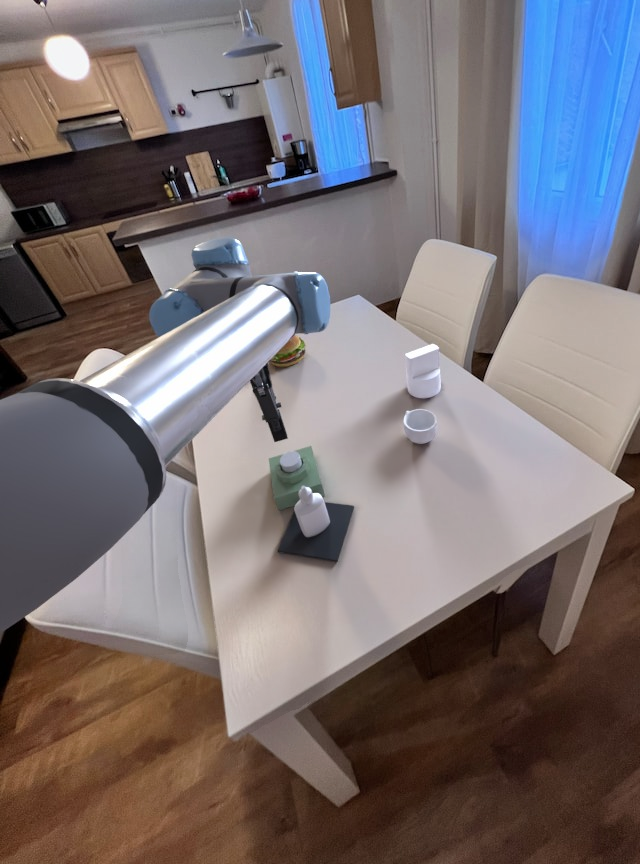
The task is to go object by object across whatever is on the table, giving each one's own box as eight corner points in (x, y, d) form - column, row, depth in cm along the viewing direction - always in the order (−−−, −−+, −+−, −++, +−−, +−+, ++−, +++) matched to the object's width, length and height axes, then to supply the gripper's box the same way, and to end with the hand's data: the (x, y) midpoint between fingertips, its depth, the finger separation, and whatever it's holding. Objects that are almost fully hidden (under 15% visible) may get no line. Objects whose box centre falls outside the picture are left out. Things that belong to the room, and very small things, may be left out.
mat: (337, 562, 73) (336, 560, 72) (277, 552, 76) (276, 550, 76) (354, 507, 82) (353, 505, 82) (300, 500, 85) (299, 498, 85)
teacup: (444, 439, 94) (443, 422, 91) (416, 453, 92) (415, 436, 88) (419, 417, 101) (418, 400, 98) (393, 429, 99) (391, 412, 96)
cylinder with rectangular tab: (418, 402, 106) (415, 364, 99) (401, 385, 113) (398, 349, 106) (447, 390, 109) (446, 353, 102) (429, 375, 116) (427, 338, 109)
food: (261, 356, 138) (254, 336, 133) (299, 343, 141) (294, 323, 137) (271, 375, 127) (264, 354, 122) (312, 360, 131) (307, 339, 126)
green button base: (325, 496, 85) (319, 477, 82) (278, 510, 84) (271, 492, 80) (314, 457, 95) (309, 439, 91) (273, 470, 93) (266, 452, 90)
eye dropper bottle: (330, 535, 77) (318, 494, 70) (301, 539, 77) (286, 499, 70) (330, 515, 80) (319, 475, 73) (302, 519, 81) (288, 479, 74)
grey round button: (303, 469, 85) (301, 462, 84) (283, 475, 84) (280, 469, 83) (300, 455, 88) (298, 448, 87) (280, 461, 88) (278, 454, 86)
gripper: (223, 324, 72) (260, 423, 86) (223, 359, 62) (264, 465, 75) (265, 315, 73) (294, 414, 87) (271, 347, 63) (304, 454, 76)
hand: (280, 437), depth 81 cm, fingers closed
